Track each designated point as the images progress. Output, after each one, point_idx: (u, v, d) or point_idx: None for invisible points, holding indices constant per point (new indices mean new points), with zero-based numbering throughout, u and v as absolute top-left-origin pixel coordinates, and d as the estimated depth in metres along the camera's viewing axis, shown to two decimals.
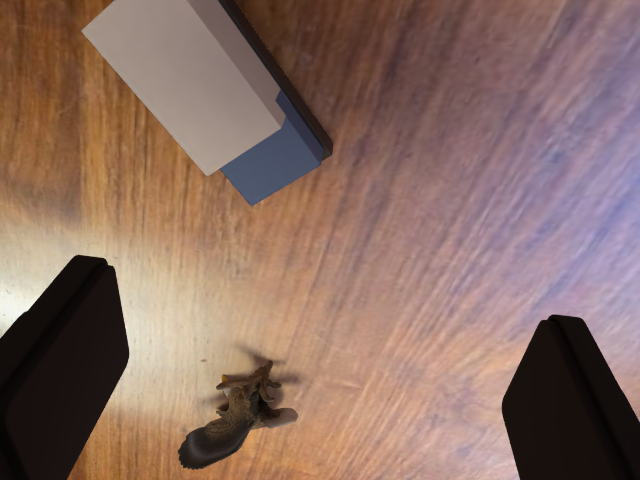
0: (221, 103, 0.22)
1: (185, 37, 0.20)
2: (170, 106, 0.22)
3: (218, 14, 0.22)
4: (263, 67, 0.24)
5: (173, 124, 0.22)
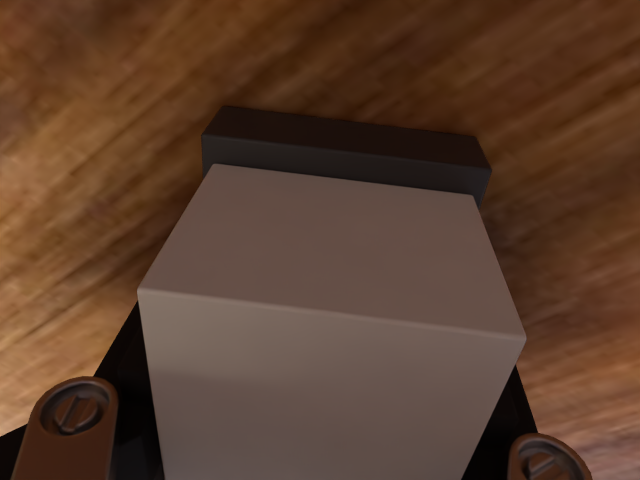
0: None
1: (396, 460, 0.07)
2: None
3: None
4: None
5: None
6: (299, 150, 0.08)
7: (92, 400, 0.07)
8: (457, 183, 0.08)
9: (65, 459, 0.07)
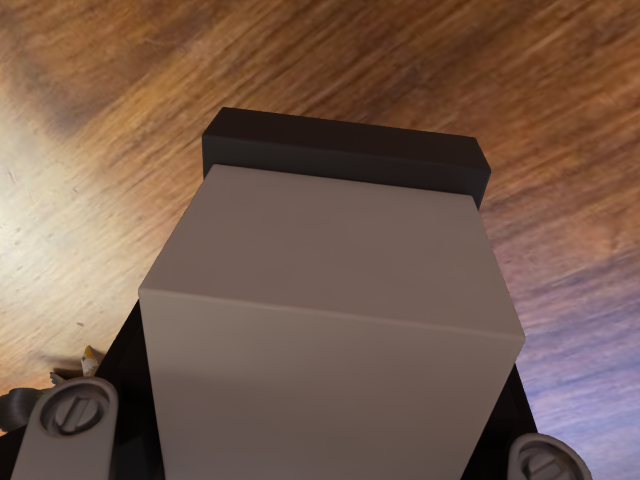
0: None
1: (396, 460, 0.07)
2: None
3: None
4: None
5: None
6: (299, 151, 0.08)
7: (92, 400, 0.07)
8: (456, 184, 0.08)
9: (65, 459, 0.07)
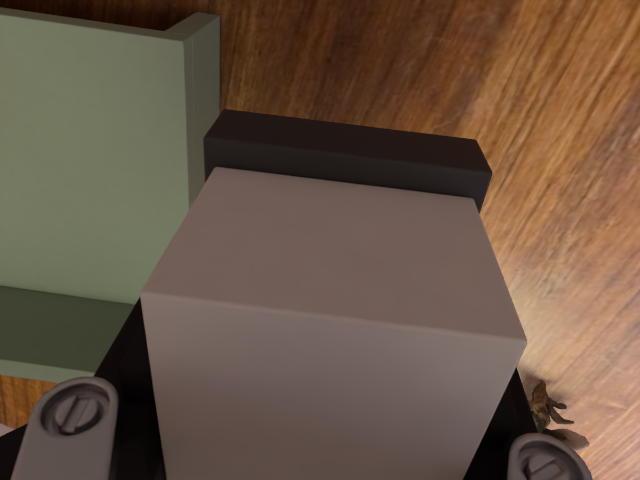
0: None
1: (398, 462, 0.07)
2: None
3: None
4: None
5: None
6: (300, 153, 0.08)
7: (92, 400, 0.07)
8: (458, 186, 0.08)
9: (65, 459, 0.07)
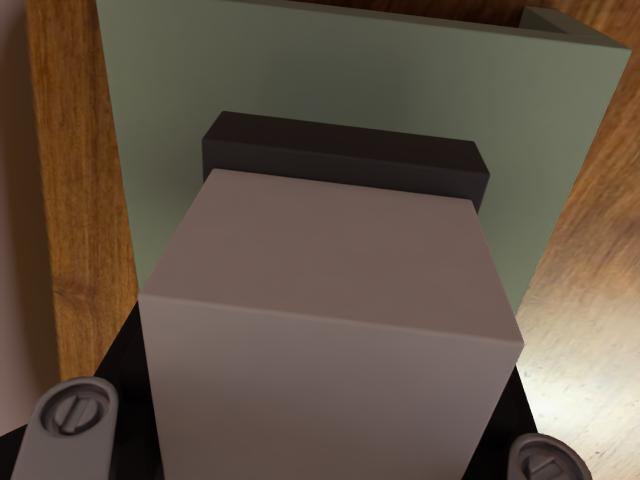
0: None
1: (396, 464, 0.07)
2: None
3: None
4: None
5: None
6: (299, 155, 0.08)
7: (92, 400, 0.07)
8: (456, 188, 0.08)
9: (65, 459, 0.07)
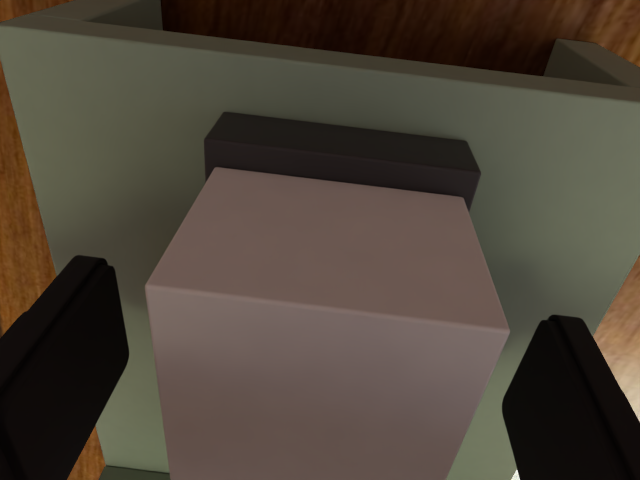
0: None
1: (390, 449, 0.08)
2: None
3: None
4: None
5: None
6: (297, 154, 0.09)
7: None
8: (448, 185, 0.09)
9: None
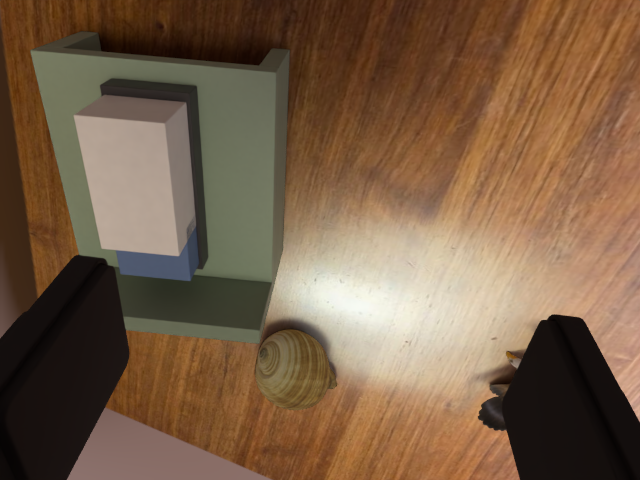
0: (147, 218, 0.27)
1: (150, 171, 0.25)
2: (107, 196, 0.26)
3: (183, 156, 0.27)
4: (192, 197, 0.30)
5: (100, 207, 0.27)
6: (130, 89, 0.27)
7: None
8: (180, 98, 0.27)
9: None
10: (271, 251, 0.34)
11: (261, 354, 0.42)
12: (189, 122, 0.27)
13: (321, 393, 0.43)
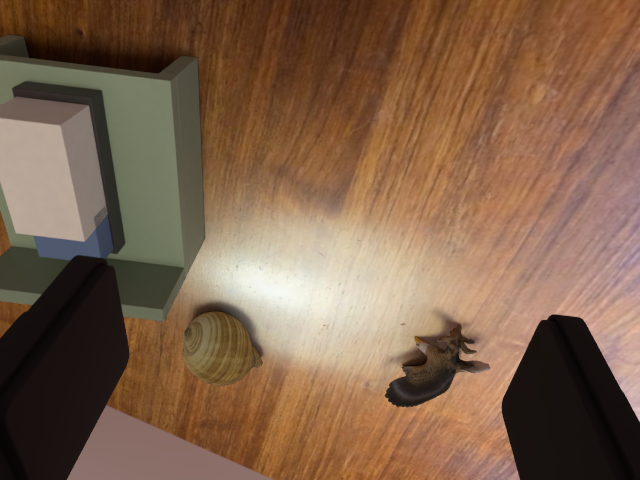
0: (53, 208, 0.31)
1: (51, 166, 0.29)
2: (16, 187, 0.30)
3: (87, 153, 0.31)
4: (101, 189, 0.33)
5: (11, 196, 0.30)
6: (39, 92, 0.30)
7: None
8: (83, 101, 0.30)
9: None
10: (181, 239, 0.37)
11: (185, 333, 0.46)
12: (93, 123, 0.31)
13: (241, 370, 0.47)
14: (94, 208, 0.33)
